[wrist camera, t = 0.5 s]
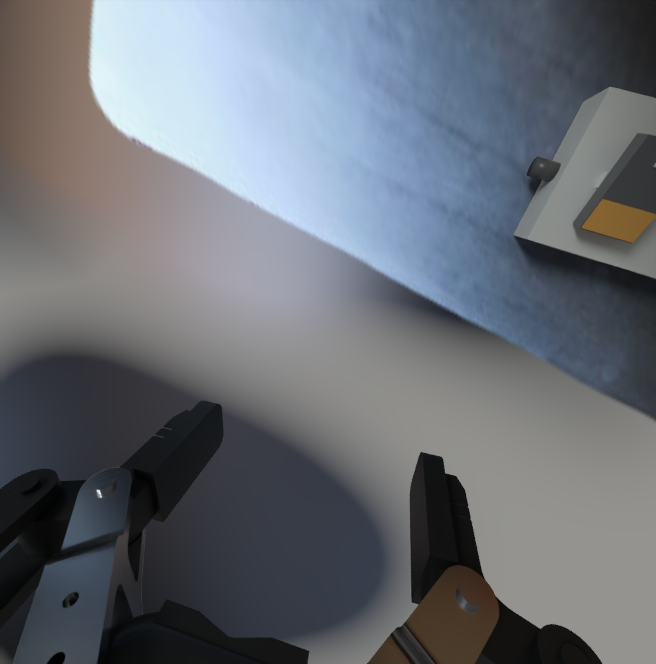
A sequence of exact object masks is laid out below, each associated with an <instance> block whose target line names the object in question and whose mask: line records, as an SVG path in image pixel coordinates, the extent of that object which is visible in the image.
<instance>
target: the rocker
mask: <svg viewBox="0 0 656 664" xmlns="http://www.w3.org/2000/svg"><path fill="white" fill-rule="evenodd" d="M655 217H656V136H654V135H650V134H642V133H637V134H636V136H635V137H634V139H633V140H632V141H631V143H630V144H629V146H628V147H627V148H626V150H625V151H624V152H623V154H622V155H621V157H620V158H619V159H618V161H617V162H616V164H615V165H614V166H613V168H612V169H611V171H610V172H609V173H608V175H607V176H606V177H605V179H604V180H603V182H602V183H601V184H600V186H599V187H598V189H597V190H596V191H595V193H594V194H593V195H592V197H591V198H590V200H589V201H588V202H587V204H586V205H585V207H584V208H583V209H582V211H581V212H580V213H579V215H578V216H577V218H576V219H575V220H574V222H573V224H575V225H576V226H577V227H578V228H580V229H584V230H587V231H590V232H594V233H597V234H601V235H604V236H607V237H611V238H614V239H617V240H621V241H624V242H628V243H631V244H632V243H633V242H634V241H635V240H636V239H637V237H638V236H639V235H640V234H641V233H642V232H643V231H644V230H645V228H646V227H647V226H648V225H649V224H650V223H651V222H652V221H653V219H654V218H655Z"/></svg>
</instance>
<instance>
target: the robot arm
mask: <svg viewBox="0 0 656 664" xmlns="http://www.w3.org/2000/svg"><path fill="white" fill-rule="evenodd" d="M222 439H223V419H222V407H221V405H220V404H216V403H212V402H207V401H200V402H199V403H198V404H197V405H196V406H195V407H194V408H193V409H192V410H191V411H188V410H185V411H183V412H182V413H180V414H178V415H176V416H174V417H173V418H172V419H170V420H169V421H168V422H167V423H166V424H165V425H164V426H163V428H161V429H160V430H159V431H158V432H157V433H156V434H155V436H153V437H151V439H149V441H147V442H146V443H145V444H144V445H143V446H142V447H141V448H140V449H139V450H138V451H137V452H136V453H135V454H133V455H132V456H131V457H130V458H129V459H128V460H127V461H126V462H125V463H124V464H123V465H122V466H121V467H114V468H109V469H106V470H103V471H100V472H98V473H96V474H95V475H93V476H92V477H90V478H89V479H88V480H79V481H78V480H77V481H60V480H59V478H58V475H57V473H56V472H55V471H54V470H51V469H38V470H34V471H30V472H28V473H25V474H23V475H21V476H19V477H17V478H15V479H13V480H12V481H10V482H9V483H8V484H6V485H5V486H4V487H2V488H1V489H0V553H1V552H2V551H3V550H4V549H5V548H6V547H7V546H8V545H9V544H10V543H11V542H12V541H13V540H14V539H17V541H18V543H17V544H16V545H14V546H13V547H12V548H11V549H10V550H9V551H8V552H7V553H6V554H5V555H4V556H3V557H2V558H1V559H0V628H1V627H2V626H3V625H4V624H5V623H6V622H7V621H8V620H9V618H10V617H11V616H12V615H13V614H14V613H15V612H16V611H17V609H18V608H19V607H20V606H21V605H22V604H23V603H24V601H25V600H26V599H27V598H28V597H29V596H30V594H31V593H32V592H33V591H34V590H35V589H36V588H37V587H38V588H37V591H36V594H35V598H34V600H33V603H32V606H31V610H30V612H29V616H28V618H27V621H26V624H25V627H24V630H23V634H22V636H21V640H20V643H19V645H18V648H17V652H16V655H15V658H14V661H13V664H308V656H309V651H307V650H305V649H302V648H299V647H296V646H294V645H291V644H288V643H285V642H283V641H280V640H277V639H274V638H232V637H228V636H227V635H226V634H225V633H223V632H222V631H221V630H220V629H219V628H218V627H217V626H215V625H214V624H213V623H212V622H211V621H210V620H209V619H207V618H206V617H205V616H204V615H203V614H202V613H200V611H197V610H194V609H192V608H188V607H186V606H183V605H181V604H178V603H175V602H172V601H170V600H166V601H165V603H164V604H163V606H162V608H161V610H160V611H159V612H152V613H146V614H143V615H142V599H141V582H142V569H143V557H144V544H145V527H146V525H147V524H148V523H149V522H150V520H151V519H154V520H157V521H161V522H164V521H165V519H166V518H167V517H168V515H169V514H170V513H171V511H172V510H173V509H174V507H175V506H176V504H177V503H178V502H179V501H180V499H181V498H182V497H183V495H184V494H185V492H186V491H187V490H188V488H189V487H190V486H191V484H192V483H193V482H194V480H195V479H196V478H197V476H198V475H199V474H200V472H201V471H202V470H203V468H204V467H205V466H206V464H207V463H208V461H209V460H210V459H211V458H212V456H213V455H214V454H215V452H216V451H217V449H218V448H219V446H220V444H221V442H222ZM410 539H411V540H410V541H411V597H412V602H413V603H416V604H419V605H418V606H417V608H416V609H415V610H414V612H413V613H412V614H411V615H410V617H409V618H408V619H407V621H406V622H405V623H404V624H403V625H402V626H401V627H398V628H396V629H395V630H394V631H393V632H392V633H391V635H390V636H389V637H388V638H387V640H386V641H385V642H384V643H383V644H382V646H381V647H380V648H379V650H378V651H377V652H376V654H375V655H374V656H373V657H372V658H371V660H370V661H369V662H368V663H367V664H602V662H601V661H600V659H599V658H598V656H597V655H596V654H595V653H594V651H593V650H592V649H591V648H590V647H589V646H588V645H587V644H586V642H584V641H583V640H582V639H581V638H580V637H579V636H577V635H576V634H575V633H573V632H572V631H570V630H568V629H567V628H564V627H562V626H559V625H554V624H550V625H546V626H544V627H543V628H542V629H540V628H538V627H536V626H535V625H533V624H532V623H530V622H529V621H527V620H526V619H524V618H522V617H521V616H519V615H518V614H516V613H515V612H513V611H512V610H510V609H509V608H508V607H506V606H505V605H504V604H503V603H502V602H501V601H500V600H499V599H498V598H497V597H496V596H495V594H494V592H493V590H492V589H491V587H490V585H489V584H488V583H487V582H486V580H485V578H484V576H483V573H482V570H481V565H480V561H479V555H478V551H477V546H476V541H475V537H474V532H473V527H472V522H471V520H470V512H469V508H468V503H467V498H466V493H465V490H464V488H463V486H462V485H461V483H460V482H459V480H458V479H457V477H456V476H454V475H450V474H445V469H444V462H443V458H442V457H440V456H435V455H431V454H427V453H423V452H421V453H420V455H419V458H418V462H417V465H416V468H415V472H414V475H413V479H412V483H411V489H410Z"/></svg>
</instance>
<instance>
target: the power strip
mask: <svg viewBox="0 0 656 664" xmlns="http://www.w3.org/2000/svg"><path fill="white" fill-rule="evenodd" d="M637 133H642V134H650V135H654V136H656V98H653V97H649V96H645V95H641V94H637V93H633V92H629V91H626V90H622V89H618V88H614V87H609V88H607V89H605V90H603V91H602V92H600V93H598V94H596V95H595V96H593V97H591V98H589V99H587V100H586V101H584V102H583V103H582V105H581V107H580V109H579V111H578V113H577V115H576V117H575V118H574V120H573V122H572V124H571V126H570V128H569V130H568V132H567V134H566V136H565V137H564V139H563V141H562V143H561V145H560V147H559V149H558V151H557V153H556V155H555V157H554V158H553V160H552V161H551V160H548V159H544V158H541V157H536V158H535V159H534V161H533V162H532V164H531V165H530V167H529V169H528V172H527V176H530V177H534V178H537V179H541V180H542V181H541V183H540V185H539V187H538V189H537V191H536V193H535V195H534V197H533V198H532V200H531V202H530V204H529V206H528V208H527V210H526V212H525V214H524V216H523V218H522V219H521V221H520V223H519V225H518V227H517V229H516V231H515V233H514V236H518V237H521V238H524V239H527V240H531V241H534V242H537V243H541V244H543V245H544V246H547V247H550V248H553V249H557V250H560V251H563V252H566V253H570V254H573V255H576V256H580V257H583V258H586V259H589V260H593V261H596V262H599V263H600V262H603V263H606V264H610V265H613V266H616V267H620V268H623V269H626V270H629V271H632V273H635V274H639V275H642V276H645V277H649V278H652V279H655V280H656V217H655V218H654V219H653V221H652V222H651V223H650V224H649V225H648V226H647V227H646V228H645V230H644V231H643V232H642V233H641V234H640V235H639V236H638V237H637V239H636V240H635V241H634V242H633V243H632V244H631V243H628V242H624V241H621V240H617V239H614V238H611V237H607V236H604V235H601V234H597V233H594V232H590V231H587V230H584V229H580V228H578V227H577V226H576V225H575V224H573V222H574V220H575V219H576V218H577V216H578V215H579V213H580V212H581V211H582V209H583V208H584V207H585V205H586V204H587V202H588V201H589V200H590V198H591V197H592V195H593V194H594V193H595V191H596V190H597V189H598V187H599V186H600V184H601V183H602V182H603V180H604V179H605V177H606V176H607V175H608V173H609V172H610V171H611V169H612V168H613V166H614V165H615V164H616V162H617V161H618V159H619V158H620V157H621V155H622V154H623V152H624V151H625V150H626V148H627V147H628V146H629V144H630V143H631V141H632V140H633V139H634V137H635V136H636V134H637Z"/></svg>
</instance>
